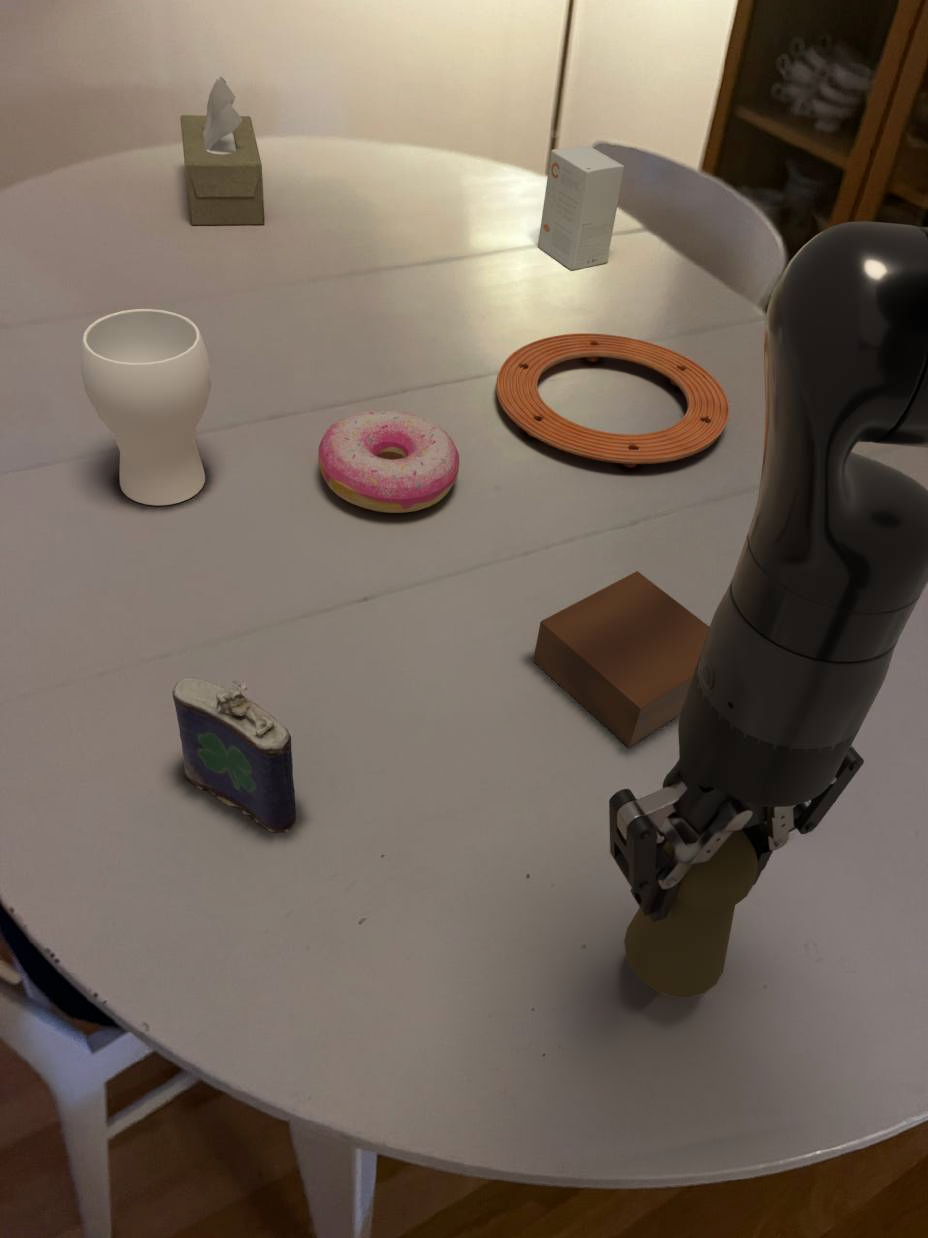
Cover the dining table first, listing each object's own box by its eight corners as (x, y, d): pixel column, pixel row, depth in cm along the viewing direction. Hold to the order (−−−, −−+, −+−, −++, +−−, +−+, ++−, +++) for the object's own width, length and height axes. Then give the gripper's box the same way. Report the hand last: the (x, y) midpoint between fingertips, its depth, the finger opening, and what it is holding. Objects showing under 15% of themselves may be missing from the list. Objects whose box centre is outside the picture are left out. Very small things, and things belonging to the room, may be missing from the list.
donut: (461, 527, 95) (466, 483, 91) (316, 523, 93) (315, 479, 90) (452, 444, 104) (456, 402, 101) (321, 440, 103) (320, 397, 99)
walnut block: (722, 687, 83) (737, 648, 80) (628, 748, 77) (640, 708, 74) (626, 609, 88) (637, 570, 85) (532, 660, 83) (540, 621, 80)
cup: (153, 436, 101) (132, 294, 90) (243, 471, 98) (232, 328, 88) (79, 491, 94) (46, 343, 83) (173, 530, 91) (152, 381, 80)
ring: (526, 483, 101) (529, 462, 99) (472, 353, 118) (474, 333, 116) (761, 470, 106) (768, 451, 104) (676, 347, 123) (681, 329, 122)
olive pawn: (739, 991, 59) (790, 887, 52) (639, 1004, 58) (677, 899, 51) (706, 900, 64) (748, 791, 56) (612, 910, 63) (643, 802, 55)
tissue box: (264, 226, 138) (259, 101, 127) (190, 226, 136) (178, 99, 125) (253, 172, 151) (247, 55, 140) (185, 172, 149) (174, 52, 138)
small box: (607, 263, 139) (626, 165, 130) (570, 271, 136) (586, 171, 127) (572, 239, 144) (588, 143, 135) (536, 246, 141) (549, 148, 132)
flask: (177, 776, 72) (160, 672, 64) (206, 750, 74) (192, 645, 66) (281, 840, 69) (275, 738, 61) (308, 811, 71) (306, 709, 63)
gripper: (693, 787, 40) (616, 993, 52) (964, 699, 45) (838, 906, 57) (601, 659, 45) (549, 874, 57) (855, 593, 50) (760, 803, 62)
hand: (694, 889), depth 57 cm, fingers closed on olive pawn, 5 cm apart
